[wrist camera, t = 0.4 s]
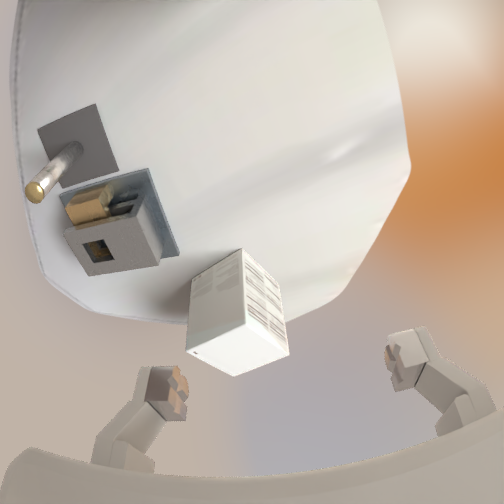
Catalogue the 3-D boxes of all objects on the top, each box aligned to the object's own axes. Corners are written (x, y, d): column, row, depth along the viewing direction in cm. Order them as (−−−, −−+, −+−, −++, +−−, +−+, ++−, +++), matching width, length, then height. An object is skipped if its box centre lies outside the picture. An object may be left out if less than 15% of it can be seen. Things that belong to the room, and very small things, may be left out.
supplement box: (231, 309, 69) (233, 378, 56) (190, 278, 62) (183, 352, 49) (280, 283, 65) (291, 355, 51) (241, 246, 57) (245, 323, 44)
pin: (65, 144, 40) (21, 187, 30) (80, 138, 40) (36, 180, 30) (72, 159, 42) (31, 205, 32) (86, 154, 42) (46, 200, 32)
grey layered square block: (61, 193, 46) (43, 217, 41) (148, 168, 45) (136, 191, 40) (100, 265, 58) (90, 292, 53) (179, 252, 57) (174, 280, 52)
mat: (38, 129, 38) (37, 129, 38) (95, 103, 37) (94, 104, 37) (63, 187, 46) (62, 188, 45) (118, 170, 45) (118, 171, 45)
